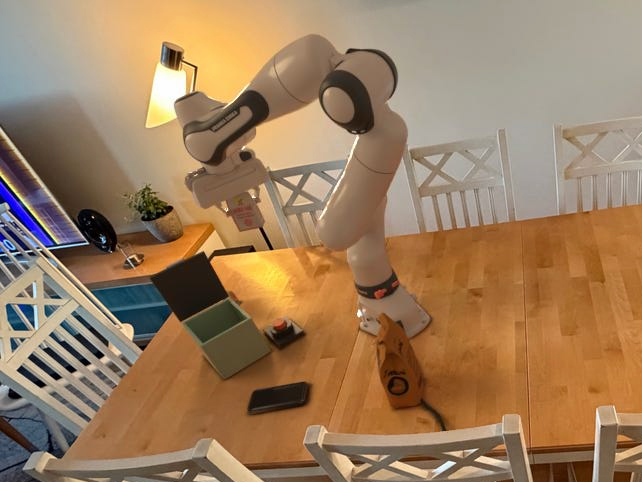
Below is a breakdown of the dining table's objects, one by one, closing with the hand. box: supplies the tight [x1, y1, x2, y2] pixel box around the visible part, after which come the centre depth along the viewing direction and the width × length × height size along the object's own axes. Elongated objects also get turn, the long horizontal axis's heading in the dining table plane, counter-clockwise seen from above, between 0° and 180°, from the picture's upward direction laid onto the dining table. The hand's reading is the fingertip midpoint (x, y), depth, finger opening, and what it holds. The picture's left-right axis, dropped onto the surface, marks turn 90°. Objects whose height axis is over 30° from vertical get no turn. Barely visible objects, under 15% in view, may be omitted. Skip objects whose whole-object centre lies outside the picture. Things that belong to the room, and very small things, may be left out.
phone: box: [246, 381, 309, 415], centre depth 133 cm, size 8×1×15 cm
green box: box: [180, 297, 272, 380], centre depth 146 cm, size 16×15×13 cm
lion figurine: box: [224, 289, 241, 308], centre depth 163 cm, size 15×5×9 cm, turn 34°
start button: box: [272, 318, 287, 330], centre depth 151 cm, size 4×4×2 cm
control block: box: [262, 316, 305, 350], centre depth 153 cm, size 11×8×4 cm
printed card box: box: [224, 190, 266, 233], centre depth 141 cm, size 4×7×10 cm, turn 97°
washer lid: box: [148, 250, 229, 323], centre depth 140 cm, size 17×15×4 cm
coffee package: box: [375, 313, 425, 409], centre depth 122 cm, size 10×12×22 cm
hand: (243, 209), depth 141 cm, fingers closed on printed card box, 7 cm apart
